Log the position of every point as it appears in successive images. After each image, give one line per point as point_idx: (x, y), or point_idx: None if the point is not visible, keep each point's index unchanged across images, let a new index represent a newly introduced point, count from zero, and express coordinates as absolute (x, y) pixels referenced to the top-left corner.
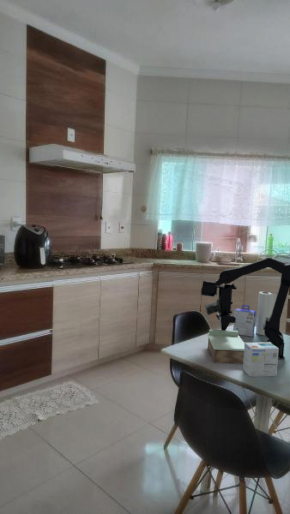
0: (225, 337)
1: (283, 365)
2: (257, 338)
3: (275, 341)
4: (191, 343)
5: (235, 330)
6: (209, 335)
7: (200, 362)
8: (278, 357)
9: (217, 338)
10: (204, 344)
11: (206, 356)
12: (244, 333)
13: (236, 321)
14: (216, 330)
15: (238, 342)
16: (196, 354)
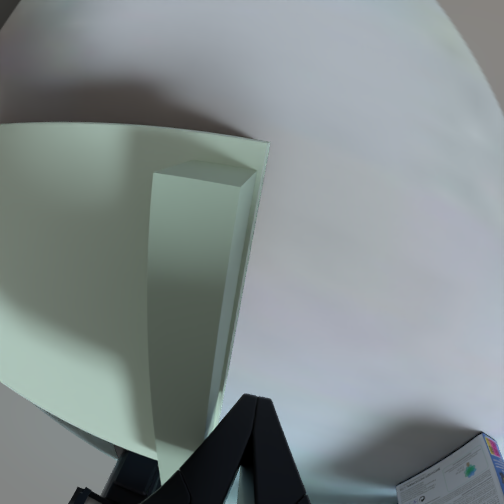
0: (107, 354)
1: (62, 424)
2: (371, 494)
3: (71, 498)
4: (392, 21)
5: (474, 456)
6: (158, 148)
7: (8, 42)
8: (118, 456)
9: (51, 237)
10: (362, 144)
11: (68, 83)
12: (430, 477)
13: (486, 501)
14: (162, 331)
15: (26, 377)
16: (107, 9)
